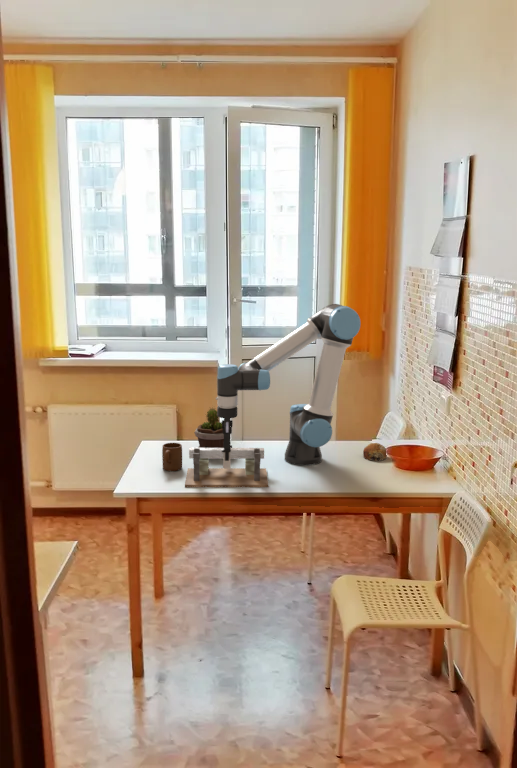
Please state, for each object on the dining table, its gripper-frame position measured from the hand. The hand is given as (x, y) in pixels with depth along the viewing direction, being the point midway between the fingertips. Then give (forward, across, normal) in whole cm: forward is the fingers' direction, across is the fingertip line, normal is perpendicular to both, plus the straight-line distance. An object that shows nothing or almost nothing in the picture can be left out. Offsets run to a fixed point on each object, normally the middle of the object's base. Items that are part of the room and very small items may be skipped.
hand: (226, 466), depth 250 cm
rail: (-4, 0, 0) cm, 4 cm away
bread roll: (+3, -21, +61) cm, 65 cm away
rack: (+3, +5, 0) cm, 6 cm away
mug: (+3, -5, -22) cm, 22 cm away
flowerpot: (+3, -26, -6) cm, 27 cm away
